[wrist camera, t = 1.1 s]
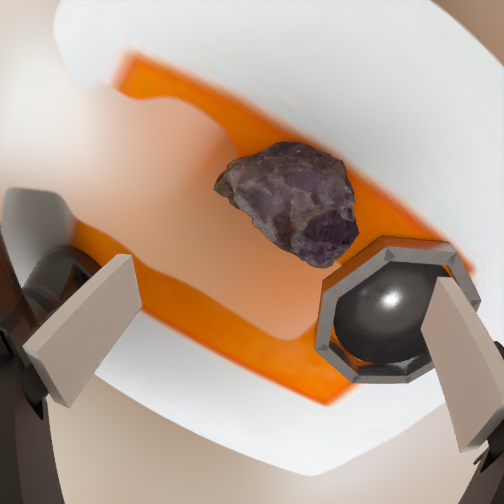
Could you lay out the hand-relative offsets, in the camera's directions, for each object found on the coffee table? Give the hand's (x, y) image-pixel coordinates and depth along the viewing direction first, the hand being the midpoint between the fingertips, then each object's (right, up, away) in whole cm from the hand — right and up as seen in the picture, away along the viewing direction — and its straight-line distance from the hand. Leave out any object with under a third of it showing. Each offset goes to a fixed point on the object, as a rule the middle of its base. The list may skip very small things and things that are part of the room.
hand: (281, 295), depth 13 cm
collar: (+16, -6, +20) cm, 26 cm away
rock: (+3, +8, +17) cm, 19 cm away
